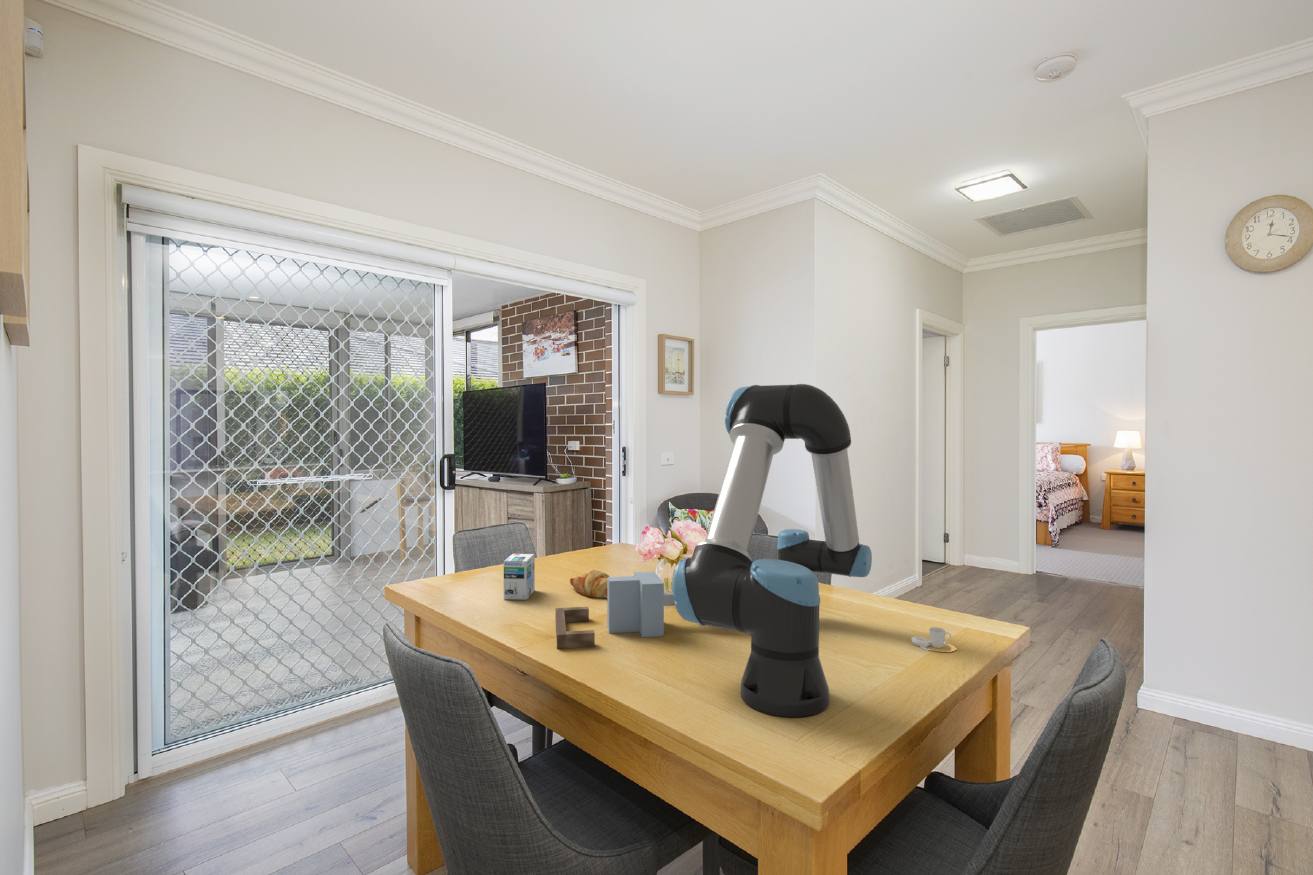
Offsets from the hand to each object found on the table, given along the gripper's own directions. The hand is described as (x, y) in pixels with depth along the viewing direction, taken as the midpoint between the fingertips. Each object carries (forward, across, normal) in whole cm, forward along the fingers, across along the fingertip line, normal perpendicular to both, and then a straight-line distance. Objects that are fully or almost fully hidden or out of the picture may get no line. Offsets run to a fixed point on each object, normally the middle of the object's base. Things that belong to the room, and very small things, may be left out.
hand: (659, 599), depth 147 cm
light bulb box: (+34, +34, -7) cm, 49 cm away
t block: (+6, -1, -6) cm, 9 cm away
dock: (+20, -1, -7) cm, 21 cm away
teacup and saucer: (-57, -19, -7) cm, 61 cm away
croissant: (+12, +32, -7) cm, 35 cm away
